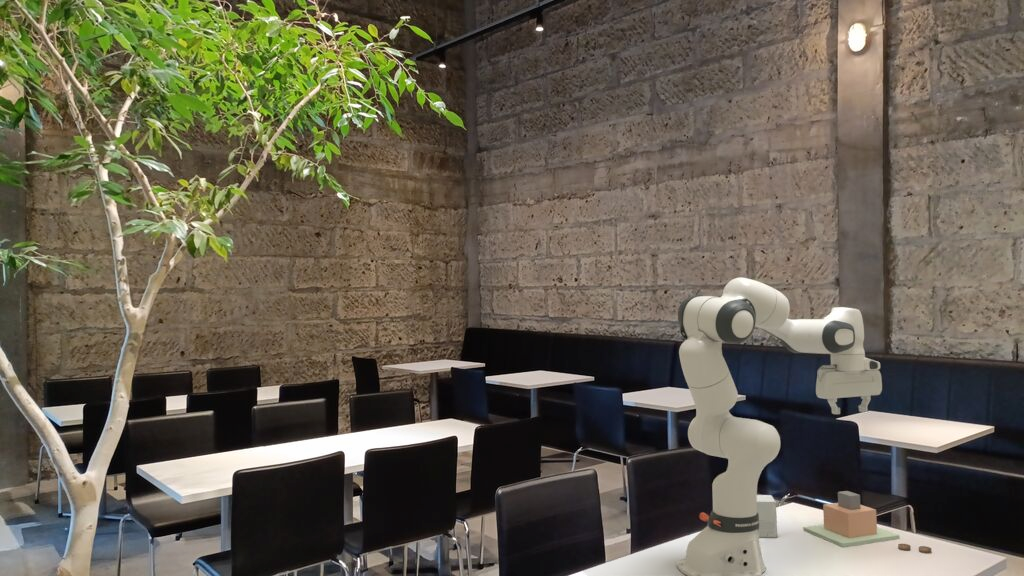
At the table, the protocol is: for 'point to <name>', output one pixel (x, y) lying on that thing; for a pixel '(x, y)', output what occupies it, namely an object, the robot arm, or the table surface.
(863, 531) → the peach base with post
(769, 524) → the small box
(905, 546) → the token
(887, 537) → the sage board
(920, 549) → the token
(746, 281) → the robot arm
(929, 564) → the table surface
